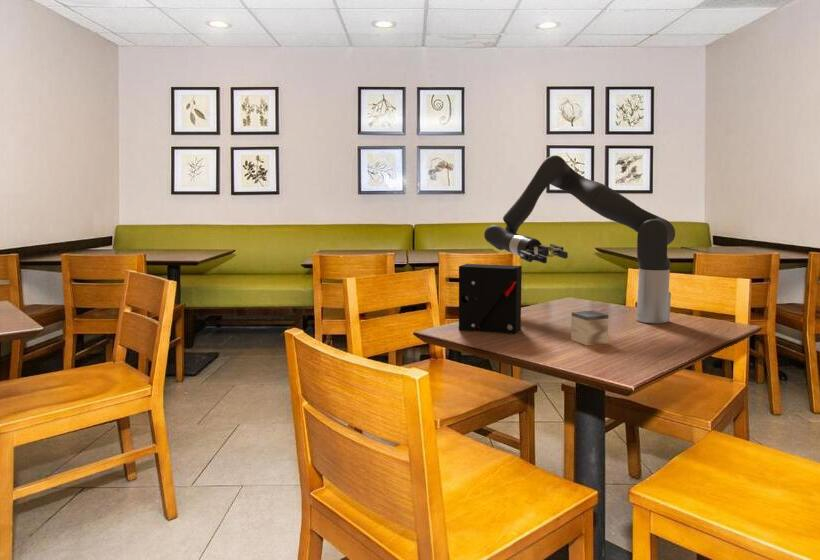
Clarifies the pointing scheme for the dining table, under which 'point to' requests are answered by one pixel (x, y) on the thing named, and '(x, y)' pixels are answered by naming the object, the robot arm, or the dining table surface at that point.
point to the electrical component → (490, 298)
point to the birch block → (589, 327)
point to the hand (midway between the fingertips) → (556, 257)
